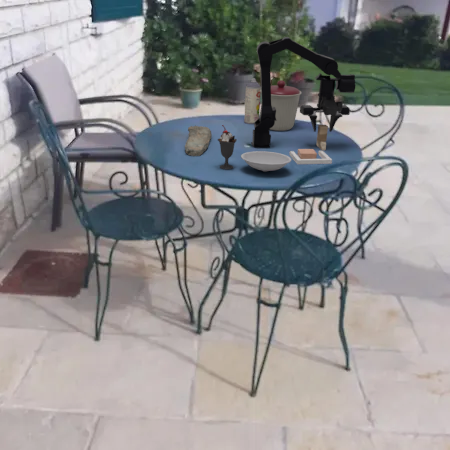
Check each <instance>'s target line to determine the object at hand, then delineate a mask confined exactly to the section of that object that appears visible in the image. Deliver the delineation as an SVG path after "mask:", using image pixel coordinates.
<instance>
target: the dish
mask: <svg viewBox="0 0 450 450" xmlns="http://www.w3.org/2000/svg"><path fill="white" fill-rule="evenodd" d="M240 158H241V159H242V160H243V161H244V162H245V163H246V164H247V165H248V166H249V167H251V168H253V169H255V170H259V171H262V172H264V173H266V172H269V171H270V172H271V171H272V172H273V171H278V170H280V169H282V168H283V167H285V166H286V165H288V164H290V163H291V162H292V157H291V156H290V155H287V154H283V153H280V152H275V151H274V152H273V151H264V150H258V151H256V150H255V151H246V152H244V153H242V154H240Z"/></svg>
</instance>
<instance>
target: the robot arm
mask: <svg viewBox="0 0 450 450" xmlns="http://www.w3.org/2000/svg"><path fill="white" fill-rule="evenodd" d="M285 50H288V51H289V52H292V53H294V55H295V54H296V55H297V56H299V57H301V58H302V59H304V60H306V61H308V62H310V63H312V64H313V65H314V66H316V67H317V68H318V69H319V70H321V71H322V72H323V73H324V75H323V74H322V73H321V72H319V74H318V75H316V76H315V78H314V79H315V80H316V81H319V89H318V93H317V97H318V102H317V104H316V107H314V106H312V105H309V104H307V105H306V104H301V106H300V107H299V113H301V114H302V115H303V116H308V117H309V119H310V123H311V125H312V130H313V132H314V133H316V132H317V118H318V115H317V113H323V114H324V116H330V120H329V121H330V122H329V127H328V129H329V132H330V133H331V132H332V131H333V129H334V127H335V125H336V123H337V122H338V120H339V119H340V118H343V116H349V115H350V114H351V109H350V107H349V106H347V105H345V104H343V102H342V101H336V100H335V99H336V98H335V90H336V91H337V92H338V93H341V94H342V93H348V94H349V93H350V94H354V93H355V90H356V79H355V78H356V75H355V74H342V73H341V72H340V71H339V65H338V62H337V61H336V60H335V59H334V58H333V57H329V56H326V55H324V54H320V53H317V52H314V51H313V50H311V49H309V48H307V47H306V46H304V45H302V44H300V43H299V42H297V41H295V40H293V39H291V38H290V37H288V36H284V37H283V38H280V39H275V40H272V41H269V42H268V41H261V42H260V43H258V45H257V47H256V52H257V53H256V54H257V57H258V62H259V67H260V87H261V93H260V96H261V104H260V111H259V119H258V120H257V121H255V122H254V124H253V125H254V129H252V139H251V143H250V144H251V145H252V147H253V148H255V149H256V148H257V149H258V148H260V149H261V148H262V149H263V148H266V149H267V148H271V146H270V145H271V139H272V135H271V130H270V128H272V127H273V126H274V124H275V121H277V120H276V117H275V116H276V109H275V107H272V105H271V86H272V84H271V82H272V81H271V79H272V77H271V66H272V62H273V56H274V55H275V54H279V53H280V52H283V51H285ZM331 76H333V77H331Z"/></svg>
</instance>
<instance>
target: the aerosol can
mask: <svg viewBox="0 0 450 450" xmlns="http://www.w3.org/2000/svg"><path fill="white" fill-rule="evenodd" d="M260 90H261V84H259V83H258V81H257V80H256V78H254V77H253V78H251V80H250V82H248V83H247V84H246V86H245V97H244V121H243V123H244V124H247V125H254V122H255V121H257V120H258V119H259V117H260V110H261V92H260Z"/></svg>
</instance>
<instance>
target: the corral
mask: <svg viewBox="0 0 450 450" xmlns="http://www.w3.org/2000/svg"><path fill="white" fill-rule="evenodd" d="M318 155H319V157H320V158H316V159H300V157H299V156H298V153H296V152H295V151H294V150H290V151H289V155H288V156H289V157H290V158H291V160H293V161H294V162H295V163H296V165H321V164H322V165H323V164H324V165H327V164H328V165H331V164H332V163H333V158H331V157H330V156H329V155H328V154H327V153H326V152H325V151H324V150H318V152H317V156H318Z"/></svg>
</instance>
